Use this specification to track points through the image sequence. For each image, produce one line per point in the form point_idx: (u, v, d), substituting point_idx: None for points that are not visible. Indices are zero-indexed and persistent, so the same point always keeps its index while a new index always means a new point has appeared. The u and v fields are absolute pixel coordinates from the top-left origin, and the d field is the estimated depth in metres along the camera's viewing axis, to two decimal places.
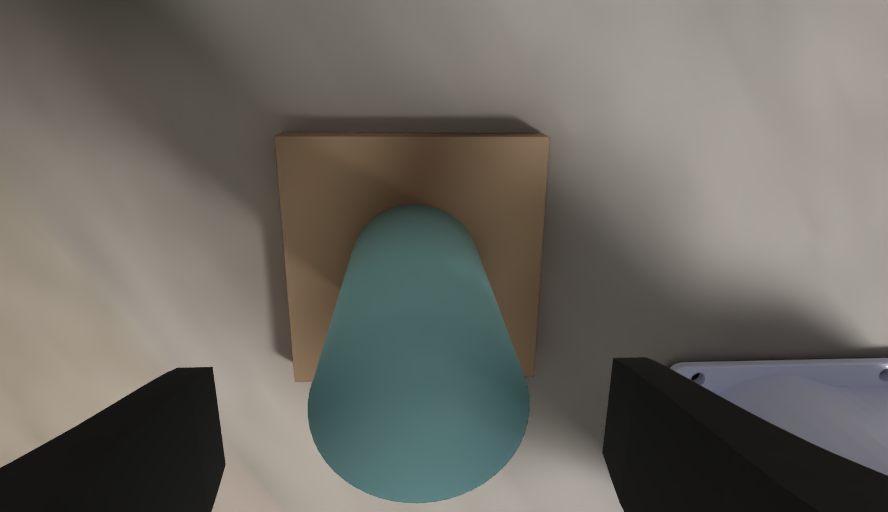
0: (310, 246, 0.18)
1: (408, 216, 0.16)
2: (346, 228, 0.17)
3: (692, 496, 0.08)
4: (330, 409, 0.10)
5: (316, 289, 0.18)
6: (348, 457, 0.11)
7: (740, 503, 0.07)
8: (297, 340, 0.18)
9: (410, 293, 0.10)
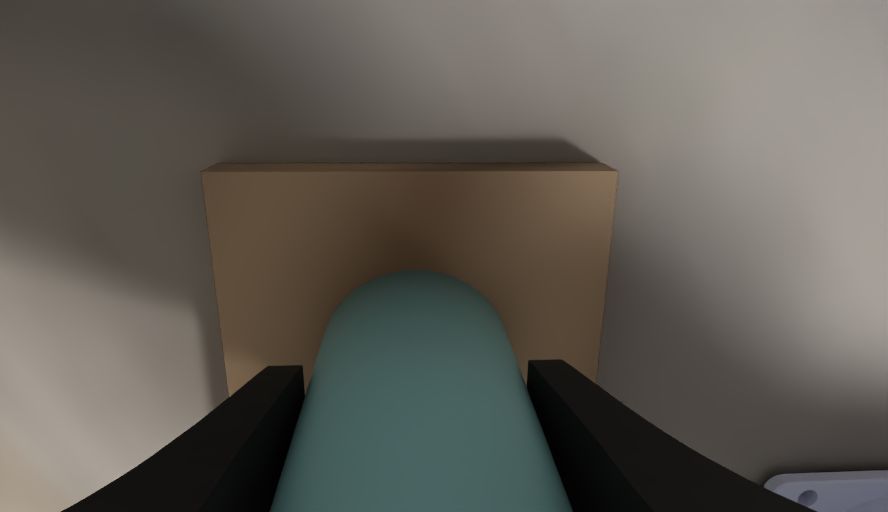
0: (260, 332, 0.12)
1: (405, 298, 0.10)
2: (314, 305, 0.12)
3: (580, 499, 0.08)
4: None
5: None
6: None
7: (611, 508, 0.07)
8: None
9: None
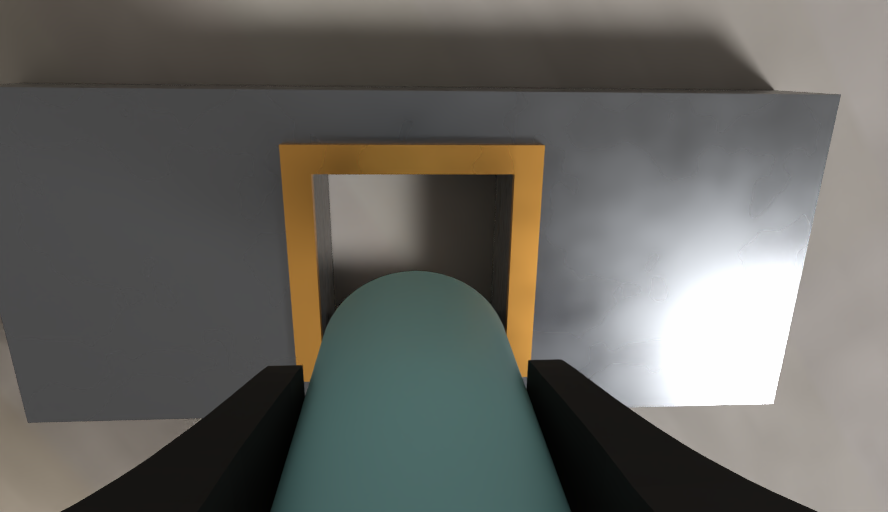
0: None
1: (405, 300, 0.10)
2: None
3: (580, 499, 0.08)
4: None
5: None
6: None
7: (610, 508, 0.07)
8: None
9: None
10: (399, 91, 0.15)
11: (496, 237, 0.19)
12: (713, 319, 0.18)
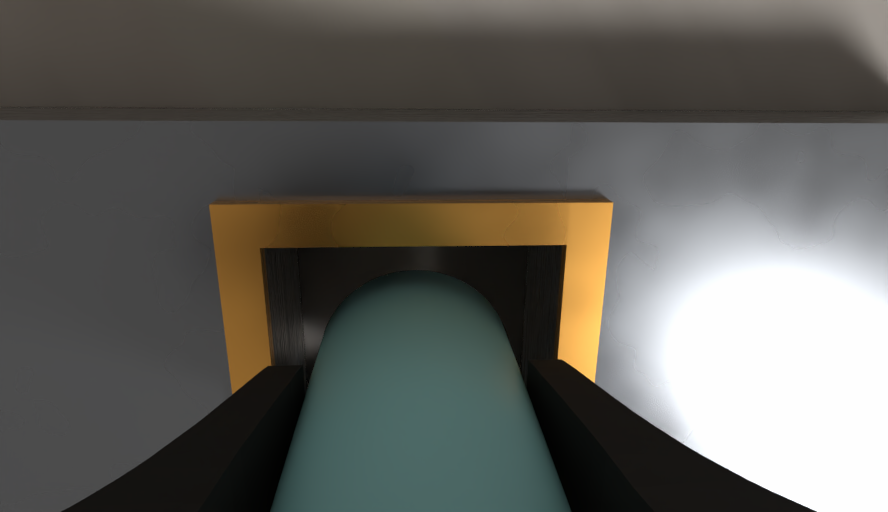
0: None
1: (405, 299, 0.10)
2: None
3: (580, 500, 0.08)
4: None
5: None
6: None
7: (610, 508, 0.07)
8: None
9: None
10: (393, 122, 0.10)
11: (529, 314, 0.14)
12: (839, 438, 0.13)
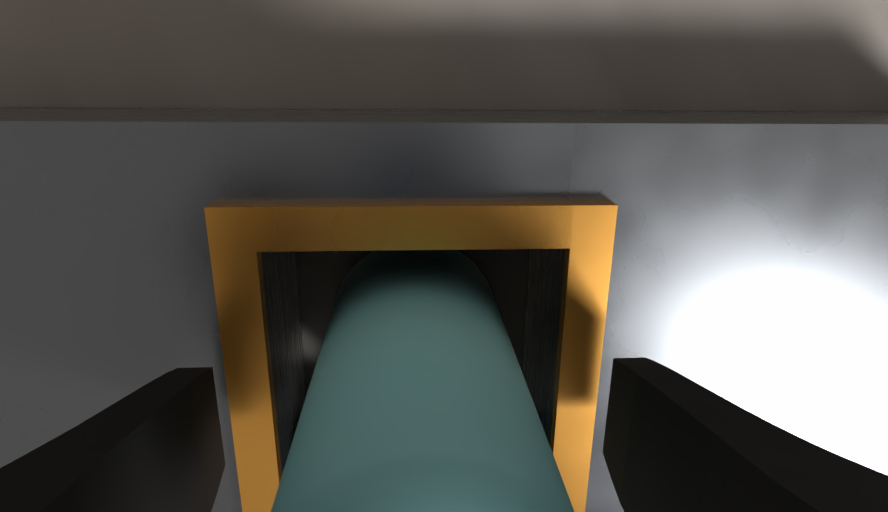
0: None
1: (407, 260, 0.12)
2: None
3: (692, 496, 0.08)
4: None
5: None
6: None
7: (740, 503, 0.07)
8: None
9: (410, 413, 0.07)
10: (392, 123, 0.10)
11: (530, 318, 0.14)
12: (847, 444, 0.13)
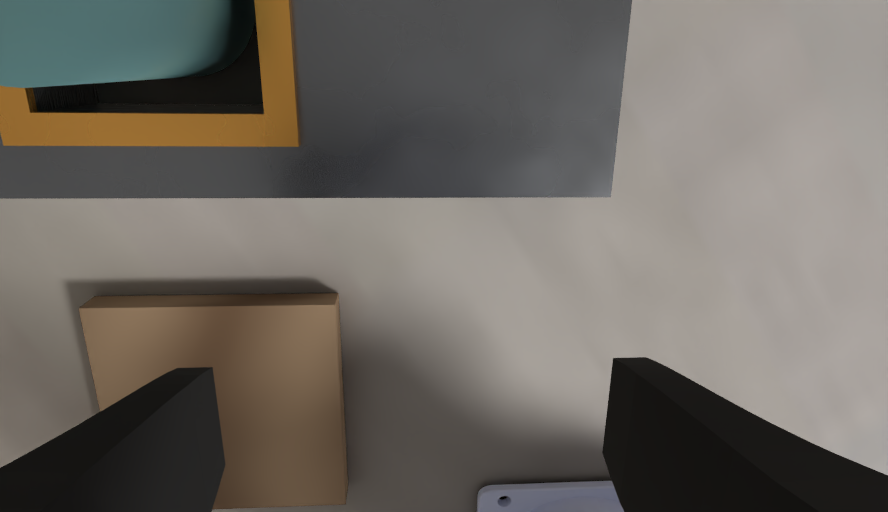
0: None
1: None
2: None
3: (692, 496, 0.08)
4: None
5: None
6: None
7: (740, 503, 0.07)
8: None
9: None
10: None
11: None
12: (525, 78, 0.15)
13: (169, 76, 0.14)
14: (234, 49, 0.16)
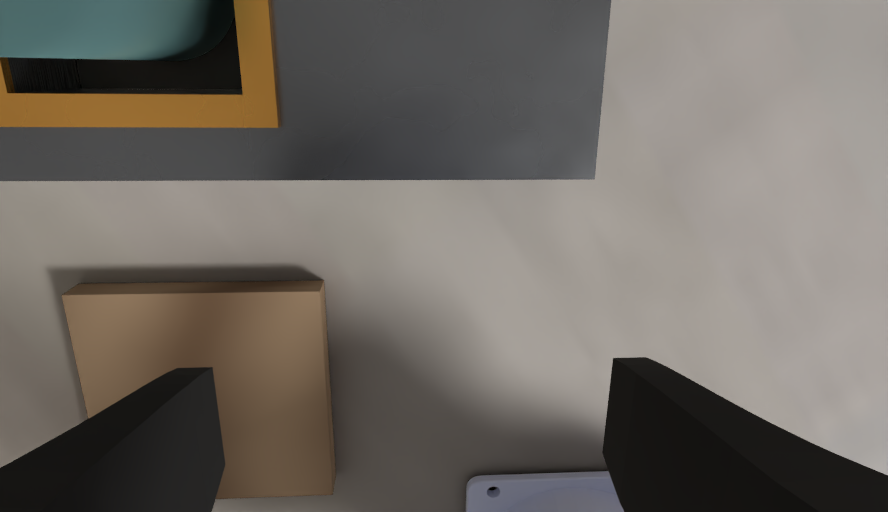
0: (106, 387, 0.19)
1: None
2: (138, 371, 0.19)
3: (692, 496, 0.08)
4: None
5: None
6: None
7: (740, 503, 0.07)
8: None
9: None
10: None
11: None
12: (507, 58, 0.15)
13: (147, 56, 0.14)
14: (215, 32, 0.16)
